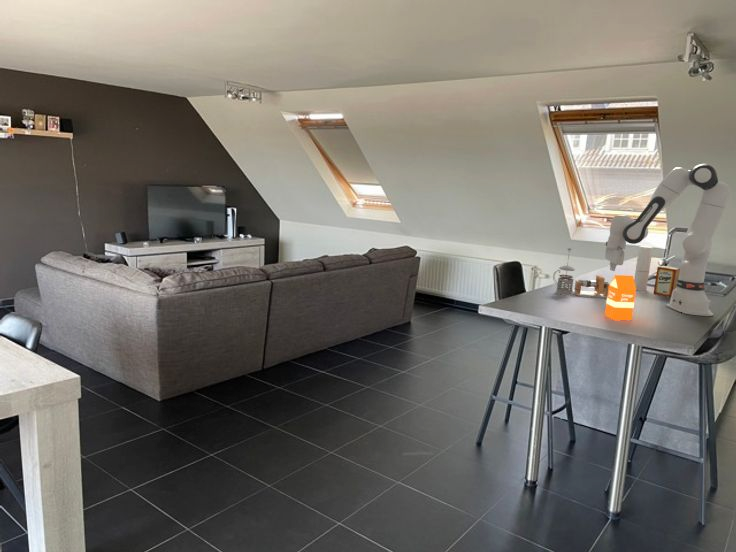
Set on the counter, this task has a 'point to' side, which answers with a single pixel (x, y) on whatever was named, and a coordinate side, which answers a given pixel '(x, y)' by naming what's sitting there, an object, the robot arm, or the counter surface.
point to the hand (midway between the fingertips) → (612, 270)
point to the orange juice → (621, 298)
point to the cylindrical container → (643, 267)
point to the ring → (600, 284)
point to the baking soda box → (666, 280)
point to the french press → (565, 281)
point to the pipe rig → (590, 284)
